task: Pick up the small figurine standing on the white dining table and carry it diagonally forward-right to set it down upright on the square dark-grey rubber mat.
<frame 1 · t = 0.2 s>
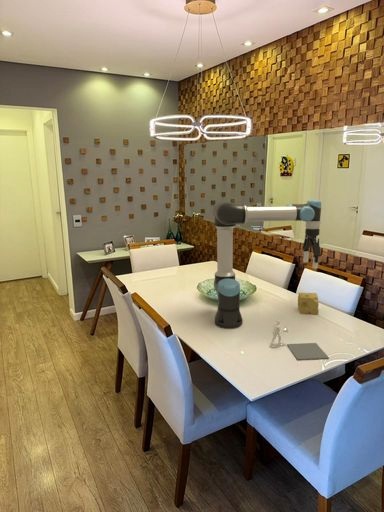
hand: (310, 265, 201), 28 cm above the table, fingers open, 13 cm apart
mat: (307, 351, 160), on the table
cheese: (307, 311, 207), on the table
figurine: (277, 345, 167), on the table
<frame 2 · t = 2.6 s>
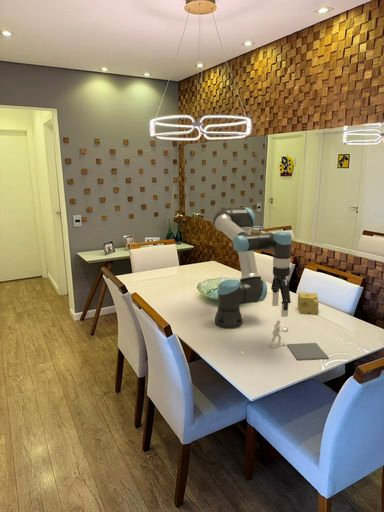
hand: (279, 310, 163), 17 cm above the table, fingers open, 13 cm apart
nothing on the table moved.
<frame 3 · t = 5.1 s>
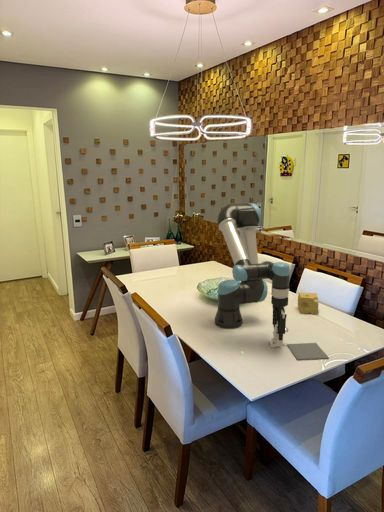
hand: (277, 343, 166), 1 cm above the table, fingers closed on figurine, 4 cm apart
figurine: (277, 344, 167), on the table, touching gripper
everything else where it was.
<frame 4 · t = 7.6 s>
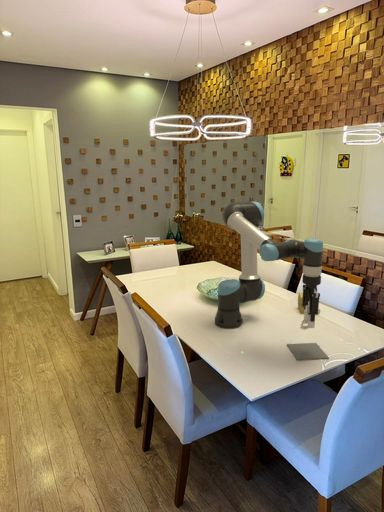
hand: (308, 325, 157), 13 cm above the table, fingers closed on figurine, 4 cm apart
figurine: (308, 327, 157), point 12 cm above the table, touching gripper
everything else where it was.
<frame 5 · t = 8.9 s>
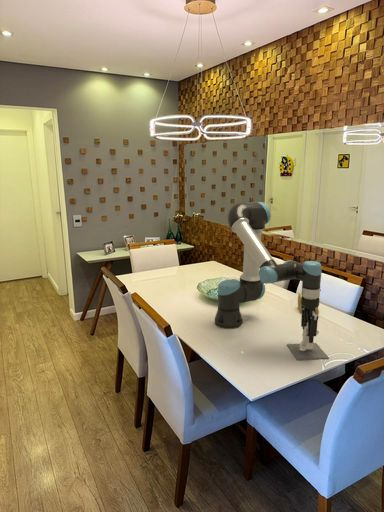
hand: (307, 346, 159), 3 cm above the table, fingers closed on figurine, 4 cm apart
figurine: (307, 347, 159), point 2 cm above the table, touching gripper
everything else where it was.
when the fingers open (1 cm above the table, at t = 10.0 s): figurine stays where it is, resting on mat.
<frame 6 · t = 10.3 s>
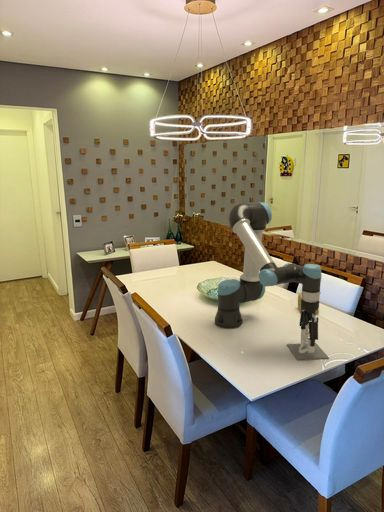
hand: (307, 347, 159), 2 cm above the table, fingers open, 8 cm apart
figurine: (306, 350, 160), resting on mat
everything else where it was.
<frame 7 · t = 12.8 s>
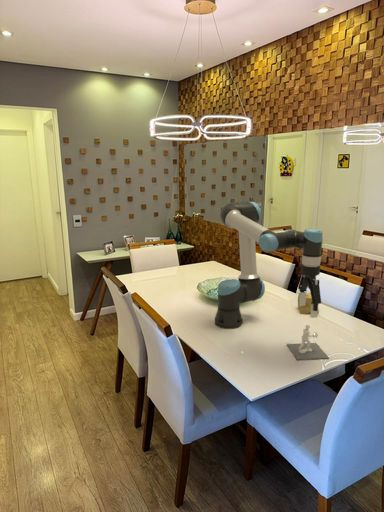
hand: (307, 311, 157), 19 cm above the table, fingers open, 13 cm apart
nothing on the table moved.
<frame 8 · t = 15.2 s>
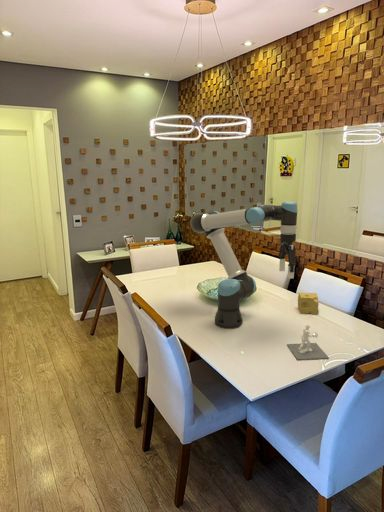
hand: (286, 274, 179), 29 cm above the table, fingers open, 13 cm apart
nothing on the table moved.
at the end: figurine 0.3 cm from the mat (horizontally); figurine tilted 0°; the gripper is holding nothing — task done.
